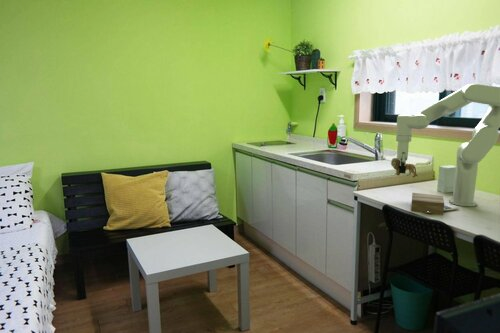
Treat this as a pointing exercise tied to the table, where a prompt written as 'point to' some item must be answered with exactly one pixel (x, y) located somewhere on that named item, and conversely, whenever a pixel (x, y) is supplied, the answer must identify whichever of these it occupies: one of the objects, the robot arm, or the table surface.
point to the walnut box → (427, 203)
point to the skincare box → (446, 178)
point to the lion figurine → (410, 167)
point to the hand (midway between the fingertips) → (401, 172)
